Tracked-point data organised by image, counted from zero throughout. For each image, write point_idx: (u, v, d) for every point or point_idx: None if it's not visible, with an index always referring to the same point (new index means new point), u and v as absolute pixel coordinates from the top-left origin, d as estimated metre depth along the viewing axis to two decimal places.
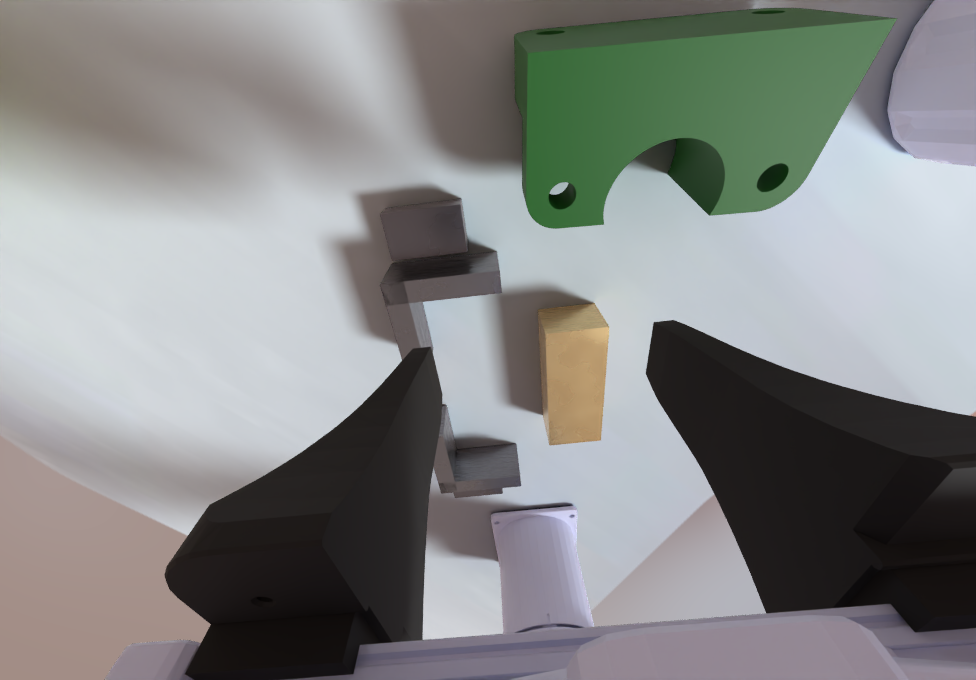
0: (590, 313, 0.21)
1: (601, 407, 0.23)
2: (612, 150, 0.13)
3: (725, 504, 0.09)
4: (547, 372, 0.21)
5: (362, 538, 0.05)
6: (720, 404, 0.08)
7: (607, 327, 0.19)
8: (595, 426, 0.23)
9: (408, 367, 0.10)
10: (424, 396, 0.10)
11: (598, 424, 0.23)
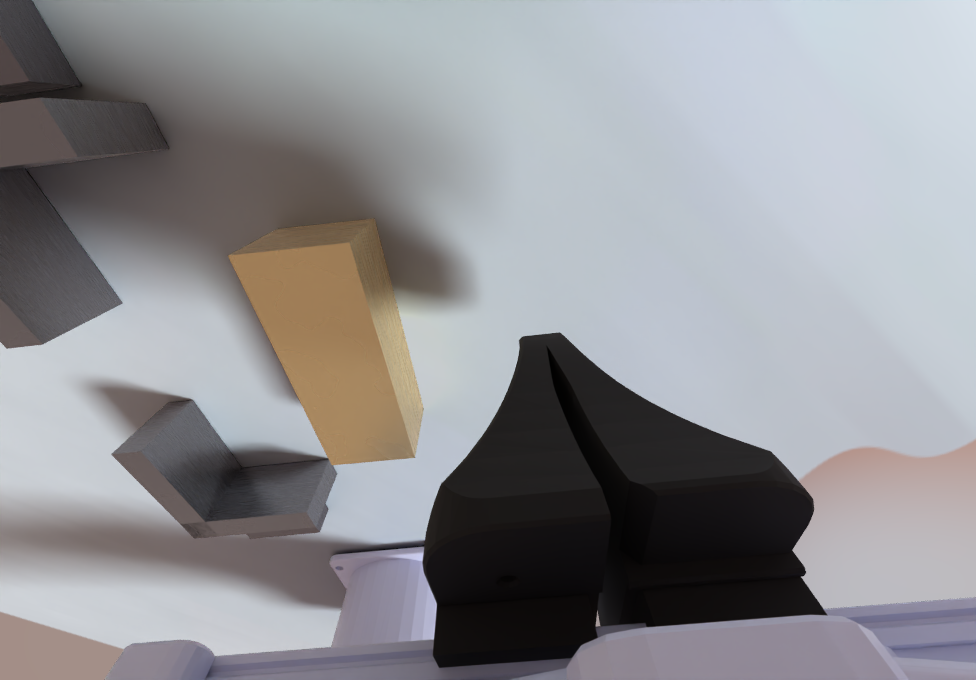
0: (347, 229, 0.11)
1: (394, 401, 0.13)
2: None
3: None
4: (270, 336, 0.12)
5: None
6: (571, 419, 0.08)
7: (346, 244, 0.10)
8: (396, 435, 0.14)
9: (535, 353, 0.10)
10: None
11: (400, 432, 0.14)
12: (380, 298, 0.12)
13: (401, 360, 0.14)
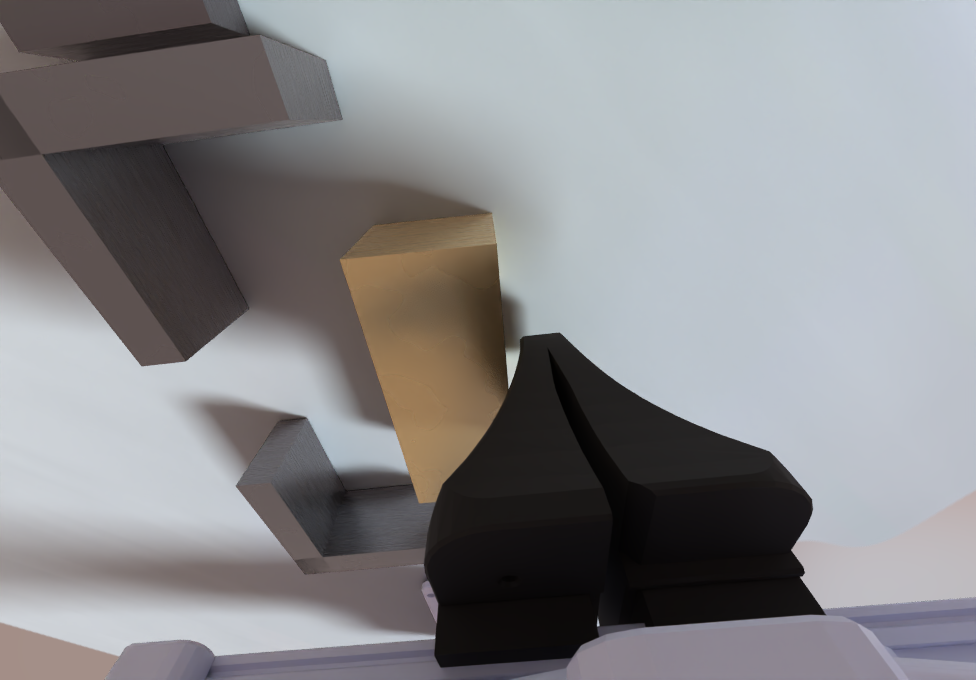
0: (472, 226, 0.09)
1: None
2: None
3: None
4: (374, 358, 0.09)
5: None
6: (570, 419, 0.08)
7: (492, 245, 0.08)
8: None
9: (535, 353, 0.10)
10: None
11: None
12: None
13: None
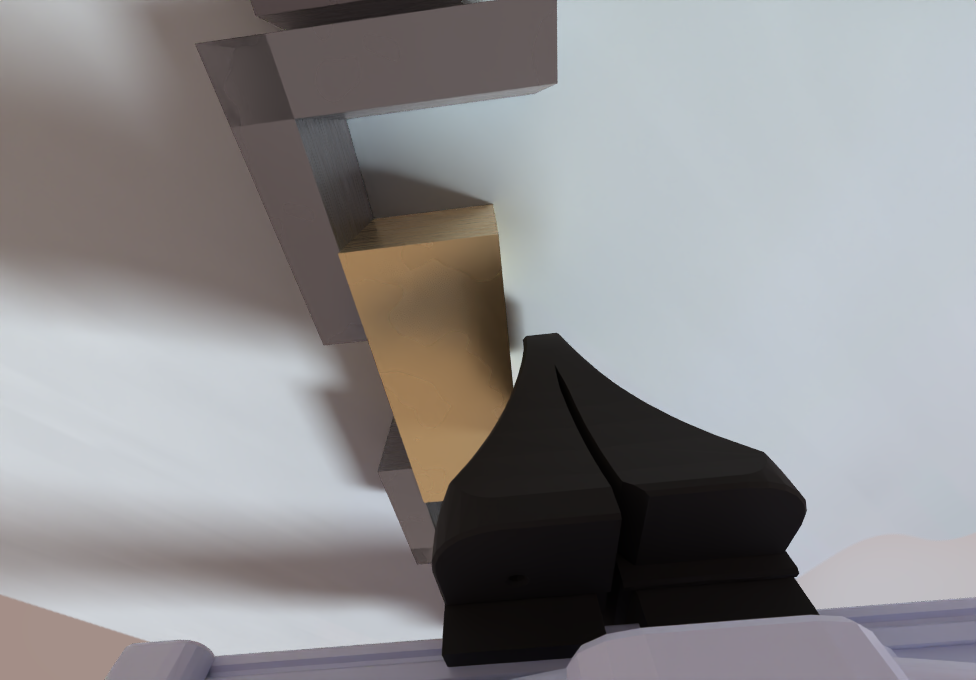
0: (472, 218, 0.09)
1: None
2: None
3: None
4: (375, 355, 0.09)
5: None
6: None
7: (494, 236, 0.08)
8: None
9: (539, 353, 0.10)
10: None
11: None
12: None
13: None
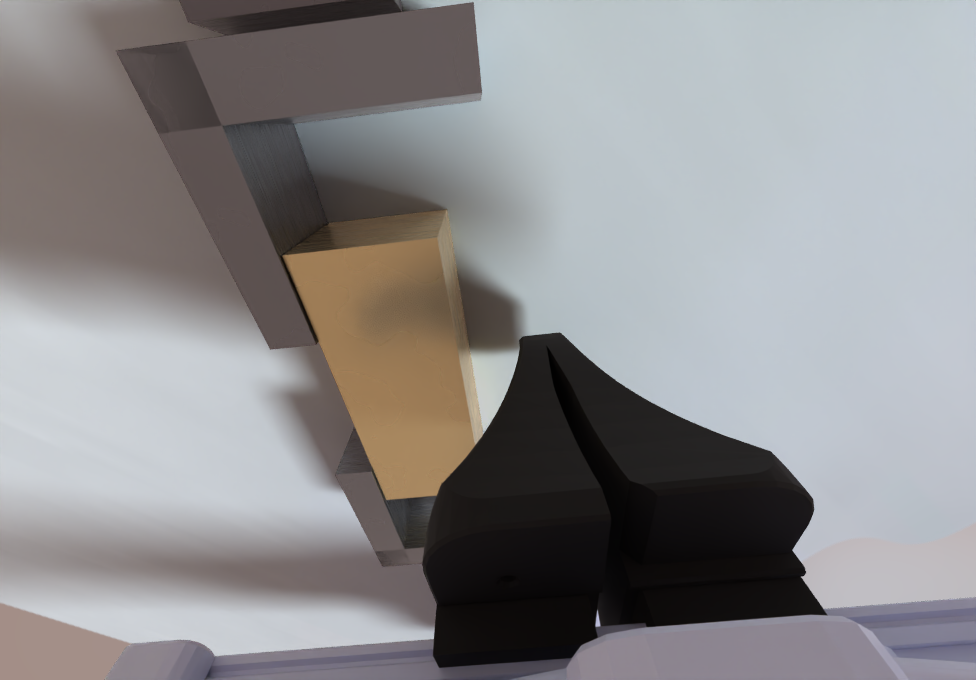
0: (422, 221, 0.09)
1: (467, 429, 0.11)
2: None
3: None
4: (327, 354, 0.09)
5: None
6: (571, 419, 0.08)
7: (433, 239, 0.08)
8: None
9: (535, 354, 0.10)
10: None
11: None
12: (456, 306, 0.10)
13: (470, 377, 0.12)
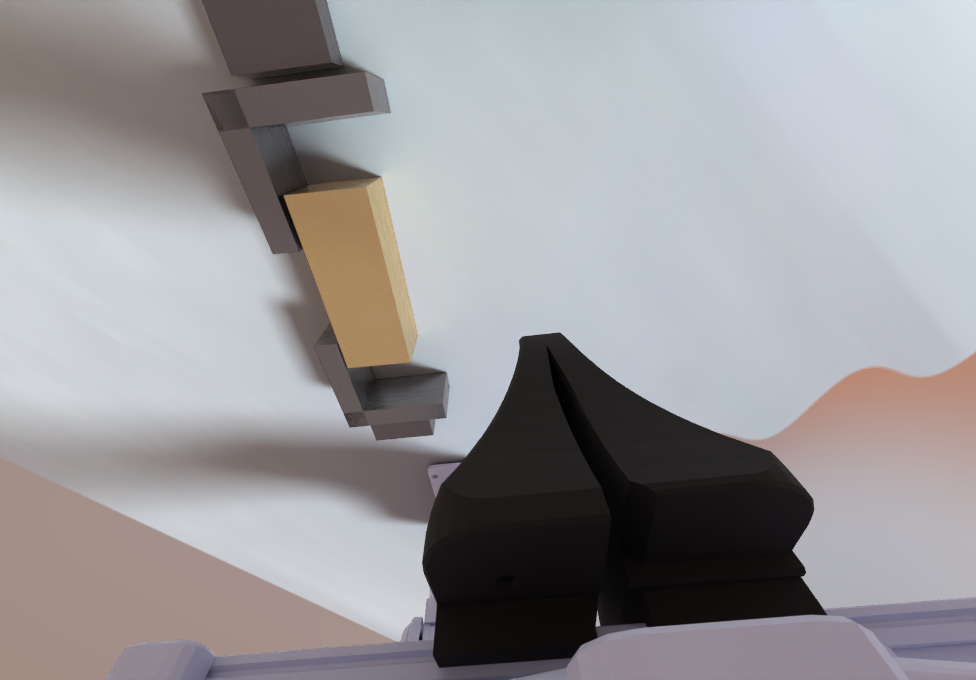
0: (363, 181, 0.16)
1: (395, 313, 0.18)
2: None
3: None
4: (308, 257, 0.16)
5: None
6: (571, 419, 0.08)
7: (364, 187, 0.15)
8: (396, 341, 0.19)
9: (535, 354, 0.10)
10: None
11: (400, 339, 0.19)
12: (386, 234, 0.17)
13: (400, 286, 0.19)
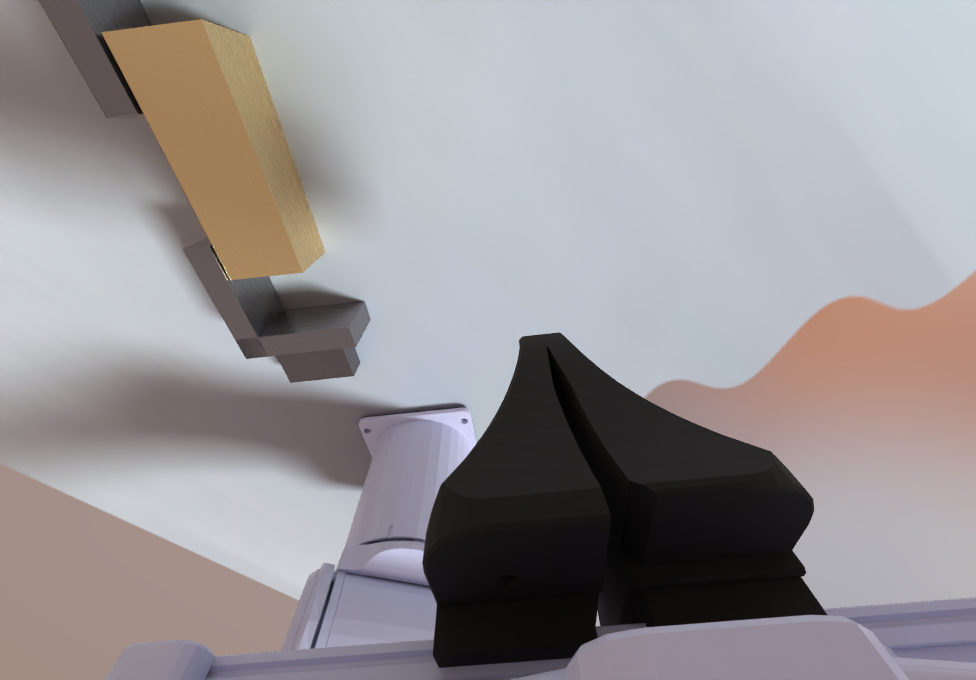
0: None
1: (272, 204, 0.15)
2: None
3: None
4: (152, 125, 0.13)
5: None
6: (571, 419, 0.08)
7: (199, 21, 0.12)
8: (281, 244, 0.16)
9: (535, 353, 0.10)
10: None
11: (285, 241, 0.16)
12: (252, 103, 0.14)
13: (286, 179, 0.16)
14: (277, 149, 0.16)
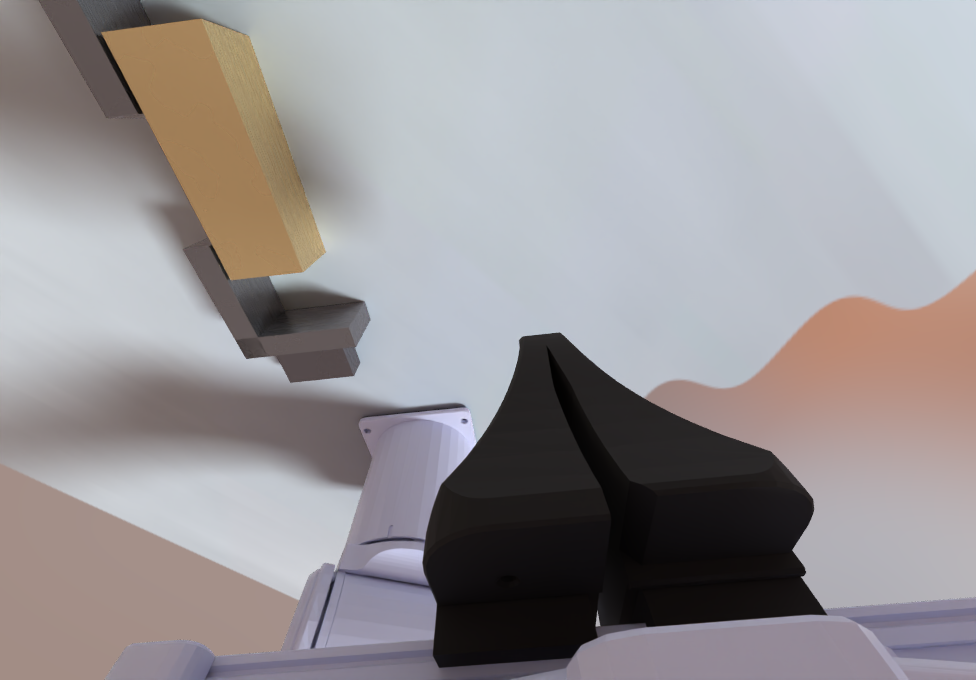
0: None
1: (272, 203, 0.15)
2: None
3: None
4: (152, 125, 0.13)
5: None
6: (571, 419, 0.08)
7: (199, 20, 0.12)
8: (281, 244, 0.16)
9: (535, 353, 0.10)
10: None
11: (285, 240, 0.16)
12: (252, 102, 0.14)
13: (286, 179, 0.16)
14: (277, 149, 0.16)
